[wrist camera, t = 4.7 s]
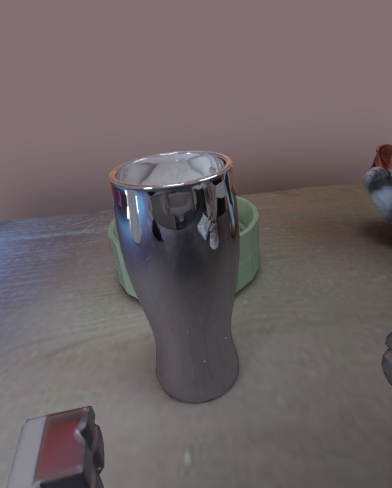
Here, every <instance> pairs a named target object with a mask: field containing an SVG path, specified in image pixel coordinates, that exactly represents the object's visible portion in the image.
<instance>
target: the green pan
mask: <svg viewBox="0 0 392 488" xmlns="http://www.w3.org/2000/svg"><path fill="white" fill-rule="evenodd" d="M236 199H237V207H238V216H239V229H240V259H239V270H238V278H237V285H236V292H238V291H239V290H241V289H242V288H243V287H244V286H245V285H247V284H248V283H249V282H250V281H251V280H253V278H254V276H255V274H256V272H257V271H258V269H259V217H258V209H257V208H256V207H255V206H254V205H253V204H252V203H251V202H250V201H248V200H246V199H244V198H241V197H239V196H237V195H236ZM108 237H109V241H110V245H111V249H112V253H113V257H114V262H115V266H116V270H117V274H118V278H119V282H120V284H121V285H122V286H123V288H124V289H125V291H126V292H127V293H128V294H130V295H131V296H133V297H135V298H137V295H136V293H135V291H134V289H133V286H132V283H131V281H130V278H129V275H128V273H127V270H126V267H125V263H124V259H123V256H122V252H121V248H120V243H119V238H118V233H117V227H116V220H115V217H114V219H113V220H112V221H111V223H110V224H109V226H108ZM236 292H235V293H236ZM137 299H138V298H137Z"/></svg>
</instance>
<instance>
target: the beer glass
mask: <svg viewBox="0 0 392 488" xmlns="http://www.w3.org/2000/svg"><path fill="white" fill-rule="evenodd" d="M232 164H233V163H232V160H231V159H230V158H229V157H228V156H226V155H223V154H220V153H216V152H208V151H178V152H168V153H161V154H156V155H150V156H146V157H142V158H138V159H135V160H132V161H129V162H126V163H124V164H122V165H120V166H118V167H116V168H115V169H114V170H112V171H111V172H110V174H109V180H110V184H111V190H112V198H113V206H114V213H115V220H116V227H117V233H118V238H119V243H120V248H121V252H122V256H123V259H124V263H125V267H126V270H127V273H128V275H129V278H130V281H131V283H132V286H133V289H134V291H135V293H136V295H137V298H138V300H139V302H140V304H141V307H142V309H143V311H144V313H145V315H146V317H147V320H148V322H149V324H150V327H151V329H152V331H153V335H154V339H155V344H156V377H157V380H158V383H159V385H160V386H161V388H162V389H163V390H164V391H165V392H166V393H167V394H168V395H169V396H171V397H173V398H175V399H177V400H180V401H183V402H190V403H199V402H206V401H209V400H212V399H215V398H217V397H219V396H221V395H222V394H224V393H225V392H227V391H228V390H229V389H230V388H231V387H232V385H233V384H234V383H235V381H236V379H237V376H238V373H239V358H238V354H237V351H236V348H235V344H234V341H233V338H232V332H231V318H232V310H233V304H234V298H235V292H236V285H237V278H238V270H239V259H240V229H239V216H238V207H237V199H236V191H235V184H234V178H233V169H232Z"/></svg>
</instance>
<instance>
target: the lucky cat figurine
mask: <svg viewBox="0 0 392 488" xmlns="http://www.w3.org/2000/svg"><path fill="white" fill-rule="evenodd" d="M376 152H377V154H376V157H375V159H374V162H373V165H372V167H371V168H370V169H369V170H368V171H367V172H366V173H365V175H364V176H363V182H364V186H365V188H366V190H367V191H368V193H369V195H370V197H371V199H372V200H373V202H374V203H375V204H376V206H377V207H378V208H379V209H380V211H381V213H382V214H383V215H384V216H385V218H386V219H387V220H388V222H389V223H390V224H391V225H392V145H390V144H385V145H382V146H378V148H377V150H376Z"/></svg>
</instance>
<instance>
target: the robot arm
mask: <svg viewBox="0 0 392 488" xmlns="http://www.w3.org/2000/svg"><path fill="white" fill-rule="evenodd" d="M385 344H386V345H387V347H388V348H389V349H388V350H387V351H386V352H385V353H384V354H383V357H382V364H381V365H382V368H383V372H384V375H385V377H386V378H387V380H388V382H389V383H390V384H391V385H392V332H391V333H390V334H389V335H388V336H387V337H386V342H385ZM103 468H104V443H103V437H102V433H101V430H100V427H99V426H98V425H96V424H95V413H94V411H93V408H92V406H87V407H82V408H77V409H73V410H68V411H63V412H59V413H54V414H49V415H46V416H41V417H37V418H32V419H28V420H26V422H25V424H24V425H23V427H22V430H21V434H20V438H19V441H18V445H17V449H16V453H15V456H14V460H13V464H12V468H11V471H10V475H9V479H8V483H7V486H6V488H104V485H103V483H102V480H101V478H100V475H99V474H100V473H101V471H102V469H103Z"/></svg>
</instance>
